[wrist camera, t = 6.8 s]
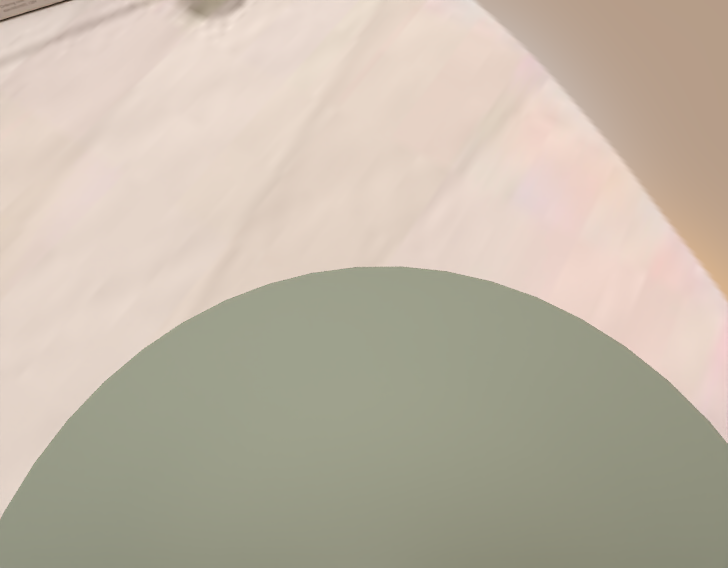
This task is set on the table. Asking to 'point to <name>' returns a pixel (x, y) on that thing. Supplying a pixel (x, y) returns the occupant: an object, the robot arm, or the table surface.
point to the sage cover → (378, 441)
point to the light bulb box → (21, 6)
